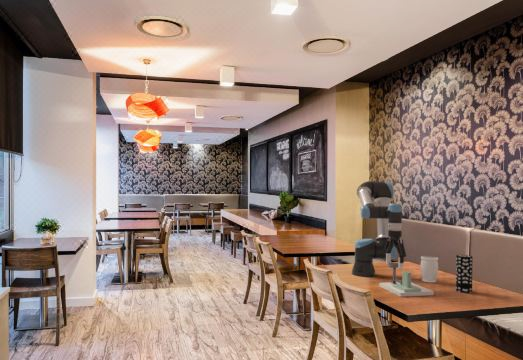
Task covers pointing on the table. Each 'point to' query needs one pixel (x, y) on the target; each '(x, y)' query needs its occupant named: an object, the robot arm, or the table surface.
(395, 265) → the grey angled block piece
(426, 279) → the jar
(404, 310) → the table surface
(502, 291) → the table surface
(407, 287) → the cover
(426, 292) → the lock base
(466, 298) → the table surface
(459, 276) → the white-spotted black cylinder
